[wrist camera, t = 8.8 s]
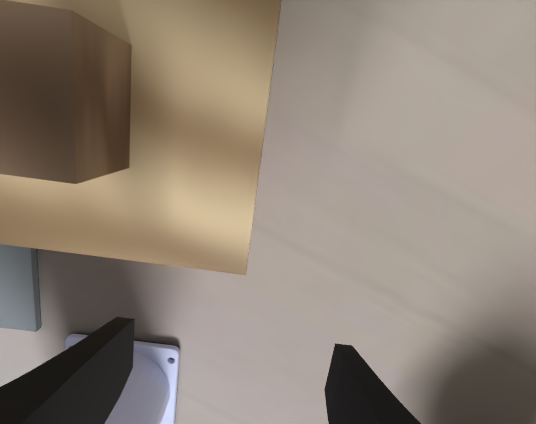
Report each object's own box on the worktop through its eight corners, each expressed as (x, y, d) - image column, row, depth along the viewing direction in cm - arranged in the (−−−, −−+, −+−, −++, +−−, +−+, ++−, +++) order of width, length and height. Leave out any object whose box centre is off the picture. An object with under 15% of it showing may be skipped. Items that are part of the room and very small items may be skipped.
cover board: (246, 267, 16) (237, 325, 12) (-32, 232, 16) (-157, 277, 11) (288, -53, 12) (299, -159, 8) (-75, -111, 12) (-291, -260, 7)
